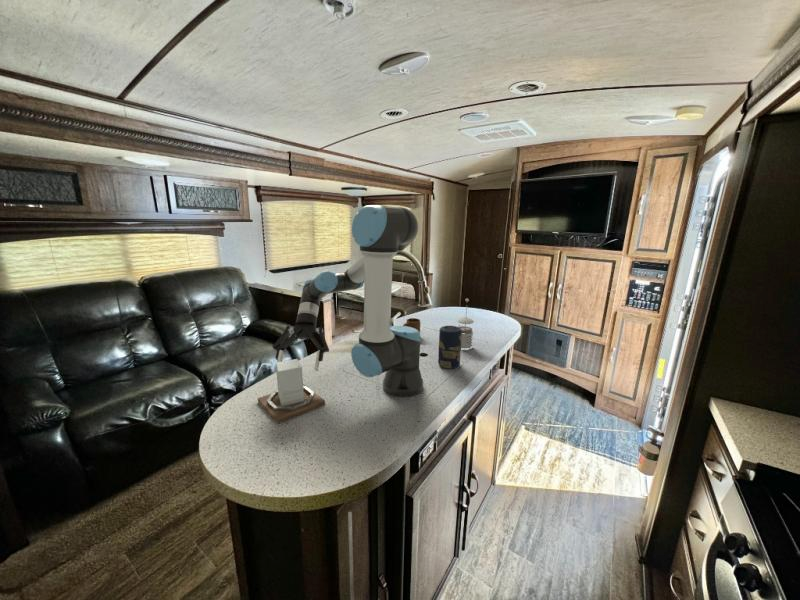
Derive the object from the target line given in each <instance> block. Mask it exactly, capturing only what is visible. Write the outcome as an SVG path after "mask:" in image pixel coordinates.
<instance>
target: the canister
mask: <svg viewBox="0 0 800 600" xmlns="http://www.w3.org/2000/svg"><path fill="white" fill-rule="evenodd" d="M459 327H460V326H459ZM459 327H458V326H455V325H444V326H443V325H442V326H441V327H440V328H439V334H438V335H439V336H438V359H437V363H438V365H439V366H441V367H443V368H445V369H456V368H458V367H459V366H460V364H461V353H462V352H461V351H462V350H461V339H462V334H463V333H462V330H461V329H460V328H459ZM455 367H456V368H455Z"/></svg>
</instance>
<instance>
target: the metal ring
mask: <svg viewBox="0 0 800 600" xmlns="http://www.w3.org/2000/svg"><path fill="white" fill-rule="evenodd" d="M306 386H307V385H305V386H303V390H304V391H306V392H307V393H308V394H309V395H310V396H309V398H308V400H307V401H306V402H303V403H301V404H298V405H296V406H293V407H280V406H276V405H275V404H274V403H273V402H272V400H273V399H274V397H275V396H276V395H278V389H277V390H274V391H273V392H272V393H270V394H271V396H270V397H269V398H268V400H267V404H268V405H269V406H270V407H271V408H272V409H273V410H274V411H292V412H293V411H295V410H298V409H300V408H302V407H305V406H307V405H310V403H311V401H312V399H313V397H314V392H315V391H314V390H312V389H311V388H310V387H308V386H307V387H308V388H307V387H306ZM310 389H311V390H312V391H311V390H310Z"/></svg>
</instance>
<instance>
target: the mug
mask: <svg viewBox="0 0 800 600" xmlns="http://www.w3.org/2000/svg"><path fill="white" fill-rule="evenodd" d="M402 326H407V327H412V328H415V329H417V330H418V331H419V333H420V334H421V320H420V319H419V318H413V317H410V318H408V319H406V322H404V323H403V325H402Z"/></svg>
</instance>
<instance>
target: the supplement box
mask: <svg viewBox="0 0 800 600" xmlns="http://www.w3.org/2000/svg"><path fill="white" fill-rule="evenodd" d="M275 370H276V380H277V384H276V385H277V390H278V396H279V399H280V403H281V406H282V407H283V406H287V405H291V404H295V403H299V402H303V401H304V393H303V384H304V378H303V367H302V365H301V363H300V361H299V359H298V358H296V359H295V358H294V359H289V360H282V362H277V361H276V362H275Z"/></svg>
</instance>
